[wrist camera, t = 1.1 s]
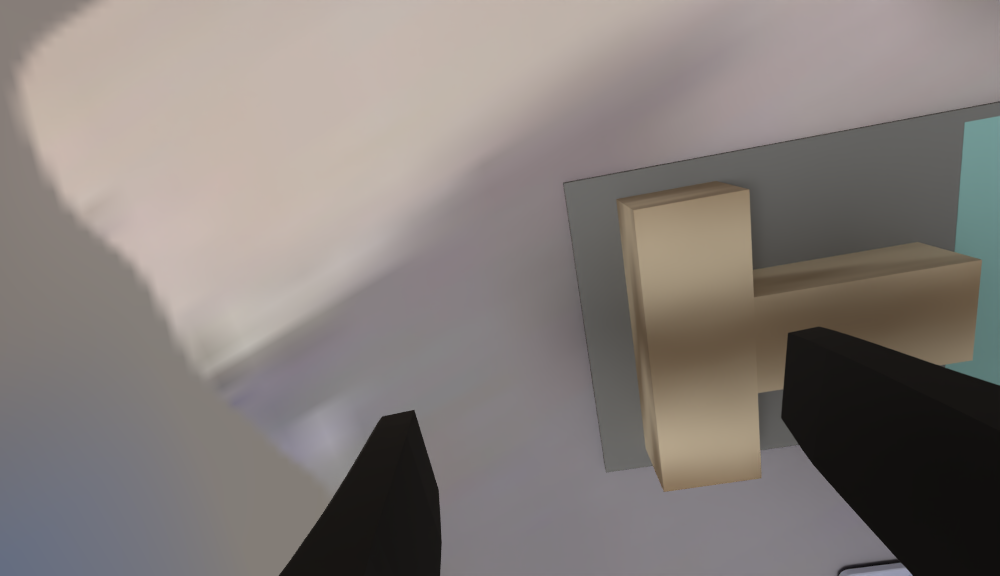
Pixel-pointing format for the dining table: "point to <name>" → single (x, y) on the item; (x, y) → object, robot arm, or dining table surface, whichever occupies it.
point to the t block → (760, 321)
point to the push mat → (801, 235)
